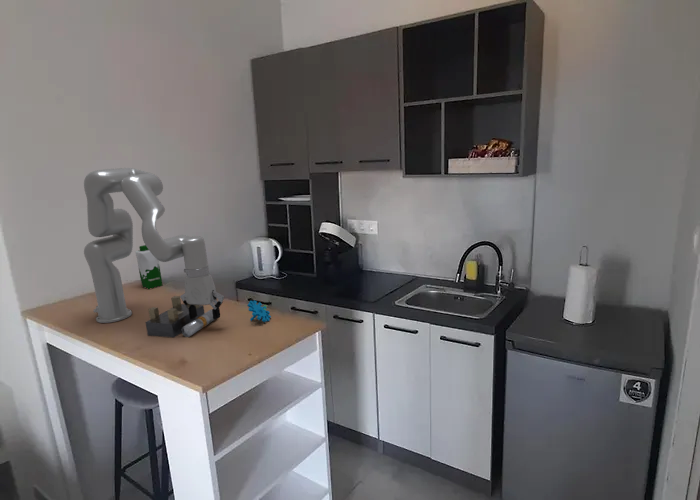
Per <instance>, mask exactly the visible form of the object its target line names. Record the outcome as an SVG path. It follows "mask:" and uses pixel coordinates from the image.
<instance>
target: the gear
mask: <svg viewBox="0 0 700 500" xmlns="http://www.w3.org/2000/svg"><path fill="white" fill-rule="evenodd" d="M262 305H263V304H262V303H261V302H260V301H259V302H258V301H257V300H255V299H254V300H250V301H249V302H248V304H247V306H246V307H248V311H249V312H251V315H252V316H251V318H250V321H251V322H253V321H254V320H255V319H257V320H258V321H260V320H261V322H263V323H266V322H270V321H271V317H272V316H271V315H270V312H271V311H269V310H267V305H266V304H264V305H263V306H262ZM252 320H253V321H252Z"/></svg>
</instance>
